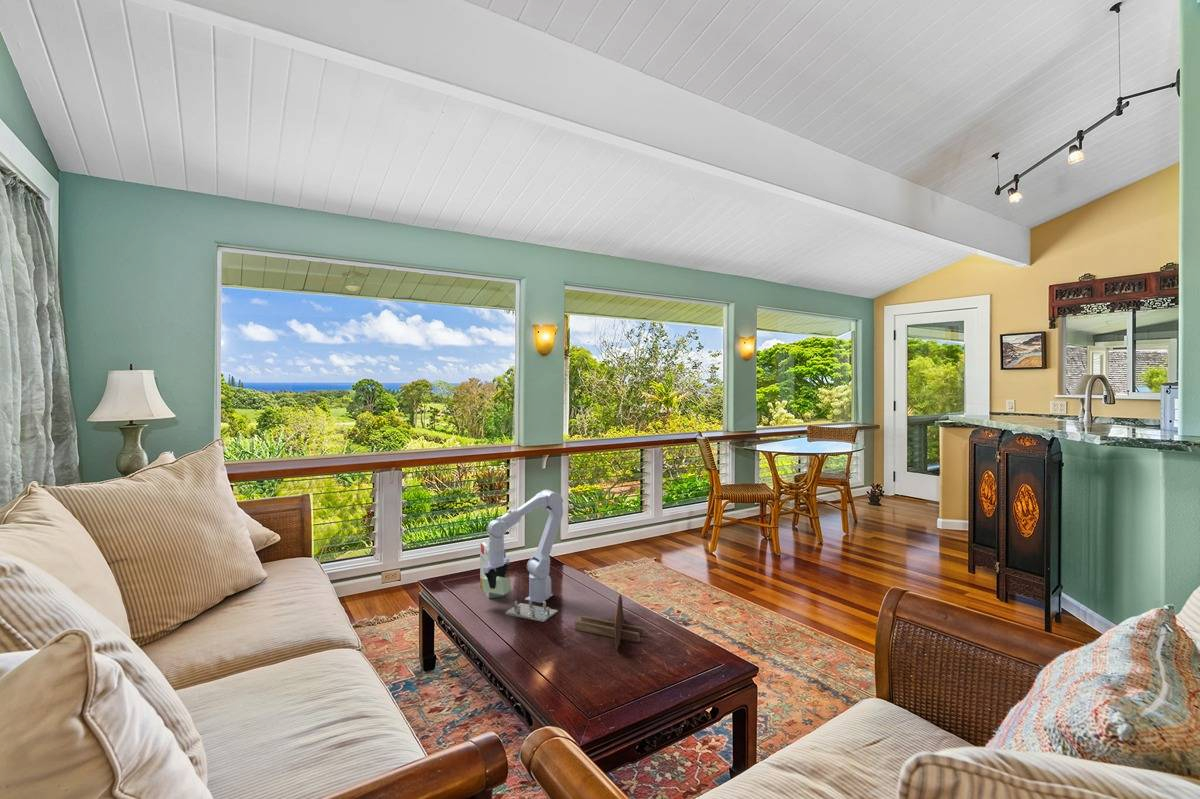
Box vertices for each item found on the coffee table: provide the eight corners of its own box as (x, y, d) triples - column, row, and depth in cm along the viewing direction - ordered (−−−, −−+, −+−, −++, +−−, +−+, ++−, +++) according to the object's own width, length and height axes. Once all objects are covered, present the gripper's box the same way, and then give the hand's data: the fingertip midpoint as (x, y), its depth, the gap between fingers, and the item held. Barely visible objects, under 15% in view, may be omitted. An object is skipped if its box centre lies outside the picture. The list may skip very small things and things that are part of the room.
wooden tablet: (620, 652, 176) (620, 621, 176) (613, 652, 177) (613, 621, 177) (624, 619, 203) (624, 592, 203) (618, 619, 203) (618, 592, 203)
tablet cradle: (582, 623, 200) (582, 615, 200) (644, 636, 189) (644, 627, 189) (575, 630, 194) (575, 621, 194) (638, 643, 184) (638, 634, 184)
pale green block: (482, 590, 215) (482, 578, 215) (489, 587, 220) (489, 574, 220) (503, 594, 211) (503, 581, 211) (510, 591, 215) (510, 578, 215)
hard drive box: (479, 587, 239) (479, 541, 239) (497, 584, 242) (497, 539, 242) (488, 599, 225) (488, 550, 225) (506, 596, 228) (506, 548, 228)
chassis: (505, 614, 208) (505, 605, 208) (520, 605, 217) (520, 596, 217) (543, 622, 201) (543, 612, 201) (557, 612, 210) (557, 603, 210)
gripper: (499, 545, 224) (499, 579, 224) (476, 554, 211) (476, 590, 211) (513, 547, 220) (513, 581, 220) (491, 557, 207) (491, 593, 207)
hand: (496, 586), depth 215 cm, fingers closed on pale green block, 4 cm apart
